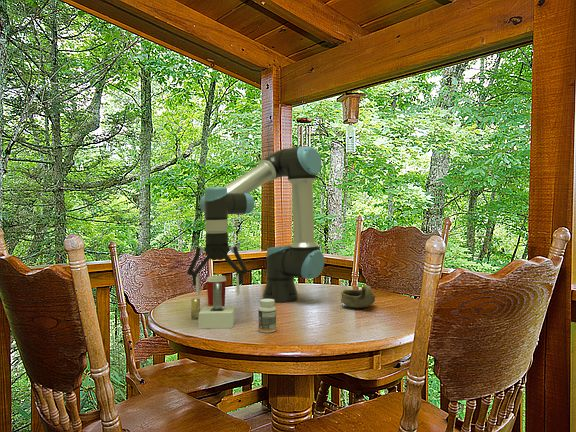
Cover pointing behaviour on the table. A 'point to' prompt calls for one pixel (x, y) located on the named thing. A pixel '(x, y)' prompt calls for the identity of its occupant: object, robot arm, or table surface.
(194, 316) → the short pin
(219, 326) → the hole block
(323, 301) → the table surface
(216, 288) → the long pin
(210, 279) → the paper cup
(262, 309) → the pill bottle
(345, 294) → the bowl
